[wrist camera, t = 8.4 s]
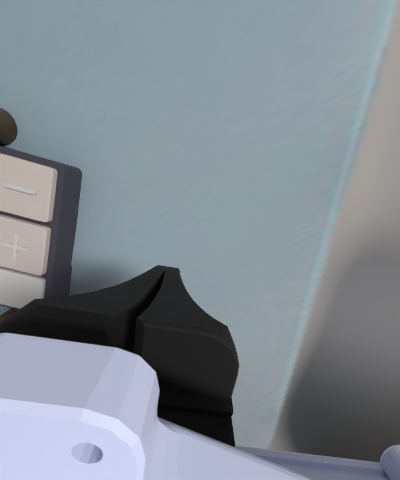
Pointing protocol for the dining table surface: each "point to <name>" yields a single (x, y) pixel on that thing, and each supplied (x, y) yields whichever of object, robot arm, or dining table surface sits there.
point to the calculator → (36, 227)
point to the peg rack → (4, 132)
